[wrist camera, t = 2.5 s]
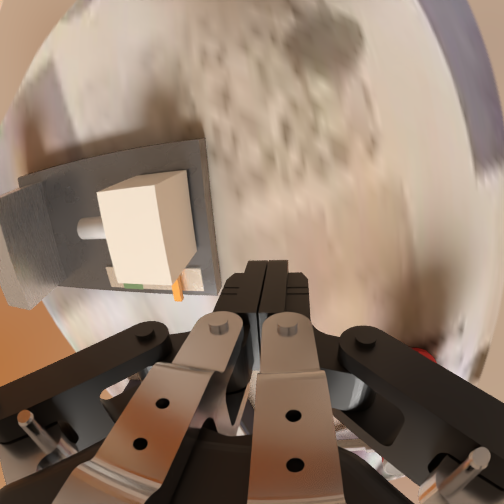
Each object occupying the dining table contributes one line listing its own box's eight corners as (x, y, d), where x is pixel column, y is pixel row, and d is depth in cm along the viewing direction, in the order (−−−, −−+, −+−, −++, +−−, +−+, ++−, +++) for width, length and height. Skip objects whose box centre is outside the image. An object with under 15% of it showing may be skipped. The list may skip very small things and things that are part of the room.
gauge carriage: (94, 182, 20) (53, 199, 16) (186, 169, 19) (154, 185, 15) (121, 292, 24) (92, 325, 20) (204, 297, 23) (184, 337, 19)
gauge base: (27, 174, 23) (-26, 195, 16) (205, 138, 20) (161, 146, 13) (54, 278, 28) (12, 314, 21) (221, 285, 25) (196, 345, 18)
